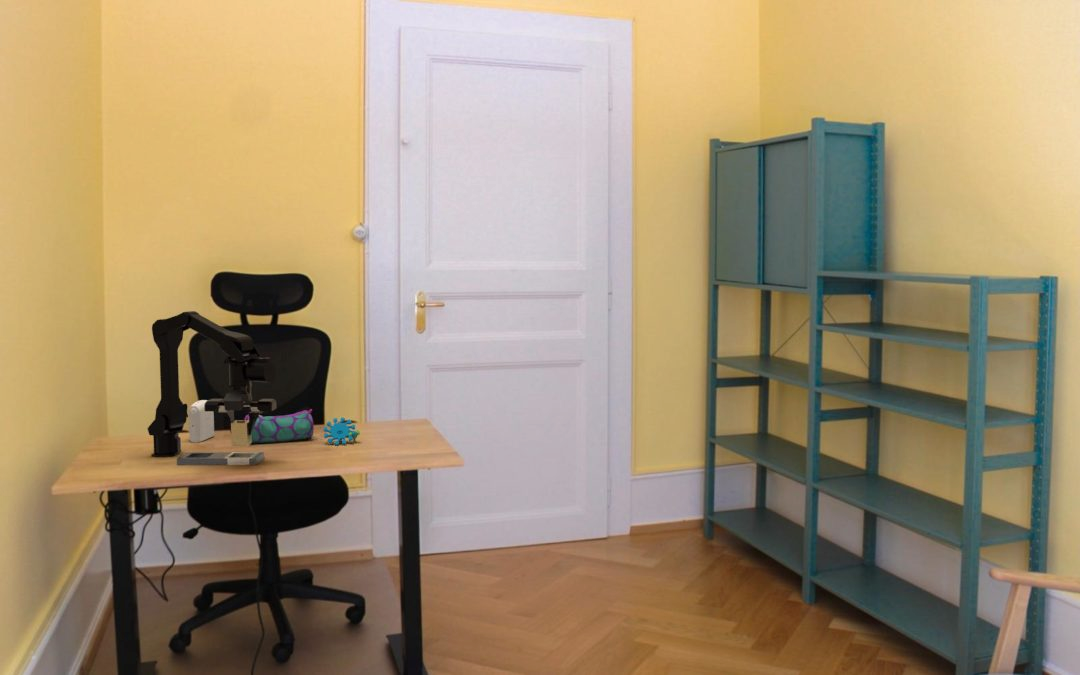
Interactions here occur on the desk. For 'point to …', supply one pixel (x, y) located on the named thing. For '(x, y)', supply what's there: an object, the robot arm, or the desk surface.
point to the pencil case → (283, 427)
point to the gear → (340, 431)
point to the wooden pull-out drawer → (240, 433)
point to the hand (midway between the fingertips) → (241, 435)
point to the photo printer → (200, 422)
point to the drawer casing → (220, 458)
